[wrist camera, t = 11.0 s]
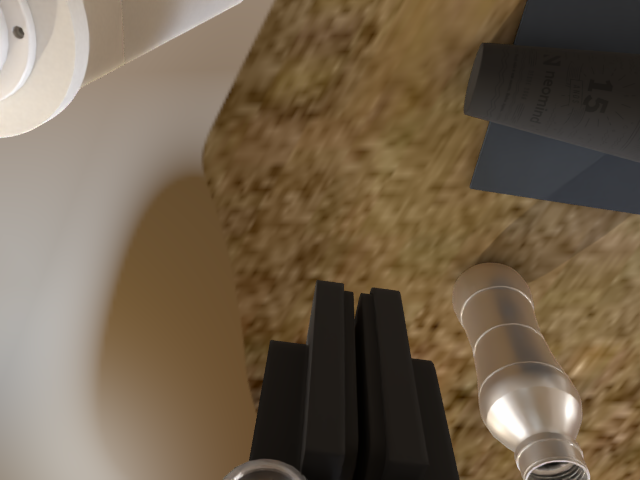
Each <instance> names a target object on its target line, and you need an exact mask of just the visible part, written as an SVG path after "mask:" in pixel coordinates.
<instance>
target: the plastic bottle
mask: <svg viewBox="0 0 640 480" xmlns="http://www.w3.org/2000/svg"><path fill="white" fill-rule="evenodd" d="M453 308H454V311H455V313H456V315H457V317H458V319H459V322H460V323H461V325H462V326H463V328H464V329H465V331H466V334H467V336H468V339H469V341H470V344H471V347H472V350H473V355H474V360H475V366H476V371H477V381H478V396H479V407H480V413H481V417H482V420H483V422H484V423H485V425H486V426H487V428H488V430H489V431H490V432H491V434H492V435H493V436H494V437H495V438H496V439H497V440H498V441H500V442H501V443H502V444H503V445H505V446H506V447H507V448H508V449H510V450H512V451H513V452H515V453H514V457H515V461H516V464H517V467H518V469H519V470H520V471H521V474H522V478H523V480H590V475H589V470H588V468H587V466H586V463H585V461H584V459H583V453H582V450H581V448H580V446H579V444H578V443H577V442H576V441H575V439H576V437H577V434H578V431H579V428H580V425H581V421H582V402H581V398H580V395H579V393H578V391H577V390H576V388H575V386H574V384H573V383H572V381H571V380H570V379H569V377H568V375H567V374H566V373H565V371H564V370H563V368H562V367H561V366H560V364H559V363H558V361H557V360H556V358H555V357H554V356H553V354H552V352H551V350H550V348H549V346H548V345H547V343H546V341H545V339H544V337H543V335H542V334H541V332H540V329H539V326H538V322H537V319H536V316H535V313H534V304H533V299H532V295H531V291H530V288H529V286H528V284H527V283H526V281H525V280H524V279H523V278H522V277H521V276H520V275H519V273H518V272H517V271H516V270H514V269H513V268H511V267H509V266H507V265H504V264H500V263H481V264H477V265H474V266H472V267H470V268H469V269H467V270H466V271H464V272H463V273H462V274H461V275H460V276H459V277H458V279H457V280H456V282H455V285H454V287H453Z"/></svg>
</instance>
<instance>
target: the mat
mask: <svg viewBox="0 0 640 480" xmlns="http://www.w3.org/2000/svg"><path fill="white" fill-rule="evenodd" d="M513 45H521V46H535V47H549V48H563V49H577V50H591V51H605V52H619V53H633V54H640V0H527V2H526V6H525V9H524V12H523V15H522V19H521V22H520V25H519V28H518V31H517V35H516V38H515V41H514V44H513ZM470 189H476V190H482V191H489V192H496V193H502V194H509V195H515V196H522V197H528V198H535V199H542V200H548V201H555V202H561V203H568V204H574V205H581V206H587V207H594V208H601V209H607V210H614V211H620V212H627V213H633V214H640V163H639V162H635V161H632V160H628V159H624V158H621V157H617V156H614V155H610V154H606V153H603V152H599V151H595V150H592V149H588V148H585V147H581V146H577V145H574V144H570V143H566V142H563V141H559V140H556V139H552V138H548V137H545V136H541V135H537V134H534V133H530V132H527V131H523V130H519V129H516V128H512V127H508V126H505V125H501V124H498V123H494V122H489V125H488V129H487V132H486V135H485V138H484V142H483V145H482V148H481V151H480V155H479V158H478V161H477V164H476V168H475V171H474V174H473V177H472V181H471V184H470Z"/></svg>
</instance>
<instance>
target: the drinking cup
mask: <svg viewBox="0 0 640 480" xmlns="http://www.w3.org/2000/svg"><path fill="white" fill-rule="evenodd" d="M464 114H465V115H469V116H472V117H476V118H479V119H483V120H487V121H490V122H494V123H498V124H501V125H505V126H508V127H512V128H516V129H519V130H523V131H527V132H530V133H534V134H537V135H541V136H545V137H548V138H552V139H556V140H559V141H563V142H566V143H570V144H574V145H577V146H581V147H585V148H588V149H592V150H595V151H599V152H603V153H606V154H610V155H614V156H617V157H621V158H624V159H628V160H632V161H635V162H639V163H640V54H633V53H619V52H605V51H591V50H577V49H563V48H549V47H535V46H521V45H507V44H493V43H482V44H481V45H480V47H479V50H478V52H477V55H476V58H475V61H474V64H473V67H472V71H471V75H470V79H469V83H468V87H467V92H466V97H465V103H464Z"/></svg>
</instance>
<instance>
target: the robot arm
mask: <svg viewBox="0 0 640 480" xmlns="http://www.w3.org/2000/svg"><path fill="white" fill-rule="evenodd" d="M22 29H23V31H24V32H23V31H22ZM36 45H37V44H36V32H35V26H34V22H33V18H32V14H31V10H30V8H29V6H28V3H27V1H26V0H0V101H1V100H3V99H5V98H7V97H9V96H11V95H13V94H14V93H15V92H16V91H17V90H19V89H20V88H21V87H22V86H23V85H24V83H25V82H26V80H27V78H28V77H29V75H30V74H31V71H32V68H33V65H34V61H35V55H36ZM223 480H459V475H458V471H457V466H456V461H455V457H454V452H453V448H452V443H451V439H450V434H449V429H448V425H447V420H446V416H445V411H444V407H443V402H442V398H441V393H440V388H439V384H438V379H437V375H436V370H435V367H434V364H433V363H432V362H431V361H428V360H420V359H412V358H411V354H410V348H409V342H408V336H407V330H406V324H405V318H404V312H403V306H402V300H401V295H400V292H399V291H395V290H388V289H380V288H372V289H371V291H370V294H364V293H361V294H360V297H359V301H358V306H357V310H356V315H355V320H354V296H353V292H349V291H344V284H343V283H336V282H328V281H321V280H317V281H316V286H315V292H314V298H313V305H312V311H311V317H310V323H309V329H308V335H307V341H306V345H305V344H297V343H289V342H281V341H274V340H271V341H270V345H269V351H268V356H267V362H266V368H265V373H264V379H263V385H262V390H261V396H260V402H259V408H258V413H257V419H256V425H255V430H254V436H253V442H252V447H251V453H250V459H249V461H248V462H246V463H244V464H242V465H239V466H237V467H235V468H234V469H233V470H232V471H231V472H230V473H229V474H228V475H226V476H225V477H224V479H223Z"/></svg>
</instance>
